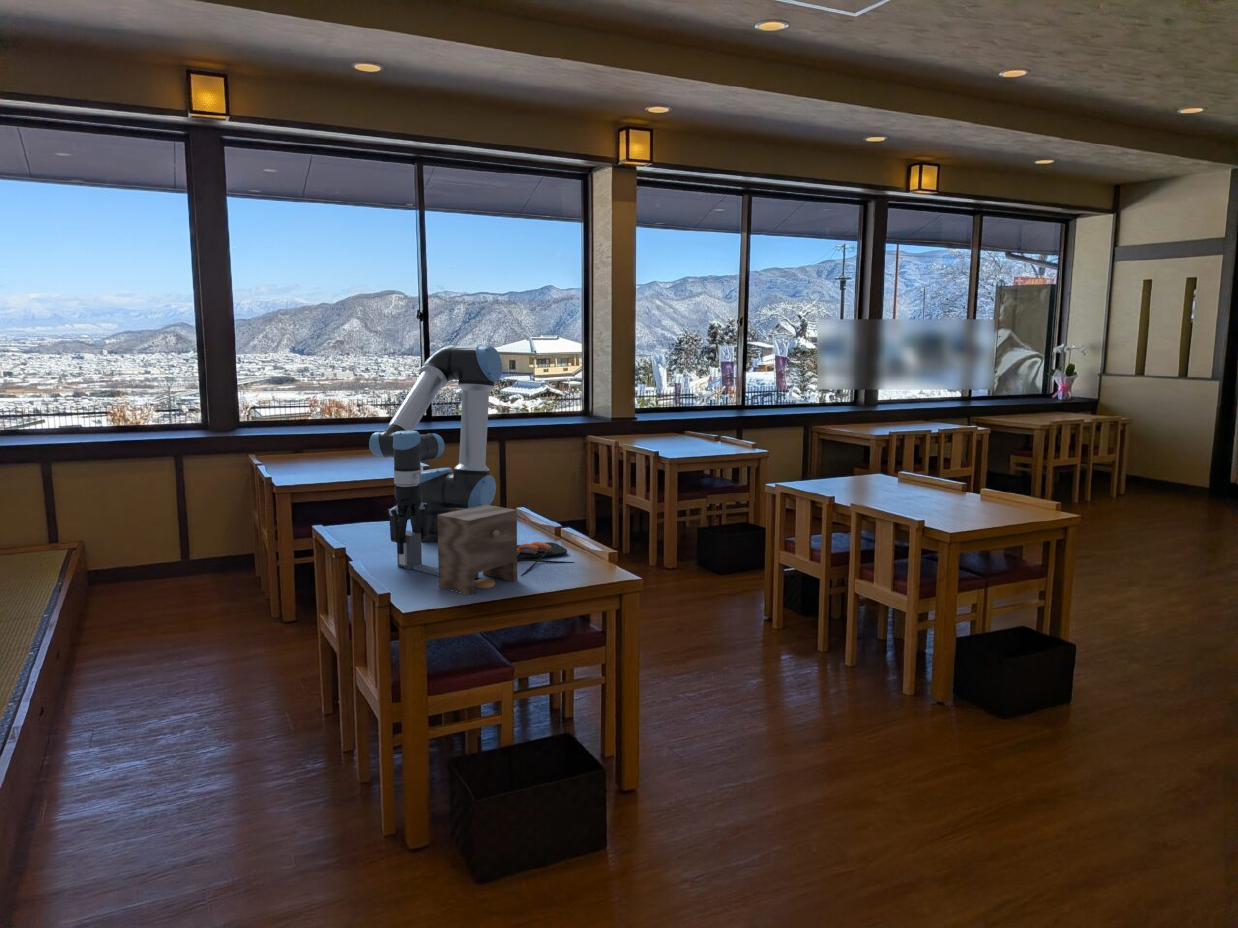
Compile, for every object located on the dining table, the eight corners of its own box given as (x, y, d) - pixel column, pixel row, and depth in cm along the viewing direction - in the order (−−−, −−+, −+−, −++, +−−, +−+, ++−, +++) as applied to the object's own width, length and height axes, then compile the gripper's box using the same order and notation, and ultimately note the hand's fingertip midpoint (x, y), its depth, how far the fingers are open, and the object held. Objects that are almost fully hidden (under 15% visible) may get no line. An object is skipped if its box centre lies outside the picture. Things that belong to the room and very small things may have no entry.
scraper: (390, 567, 249) (389, 534, 248) (415, 561, 256) (414, 529, 255) (454, 584, 233) (454, 548, 232) (478, 577, 240) (478, 542, 239)
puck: (468, 586, 233) (468, 582, 232) (483, 581, 237) (483, 577, 237) (483, 590, 229) (483, 586, 229) (499, 585, 234) (499, 581, 234)
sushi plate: (553, 547, 278) (553, 535, 278) (590, 569, 251) (590, 557, 251) (466, 556, 266) (466, 544, 265) (495, 581, 239) (495, 567, 238)
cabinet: (438, 587, 231) (437, 514, 228) (486, 572, 245) (485, 504, 242) (473, 596, 223) (472, 521, 220) (520, 580, 237) (520, 510, 234)
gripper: (392, 489, 238) (394, 571, 242) (439, 482, 252) (440, 559, 255) (375, 486, 243) (377, 566, 246) (422, 479, 256) (423, 555, 260)
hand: (409, 562), depth 251 cm, fingers closed on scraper, 4 cm apart
